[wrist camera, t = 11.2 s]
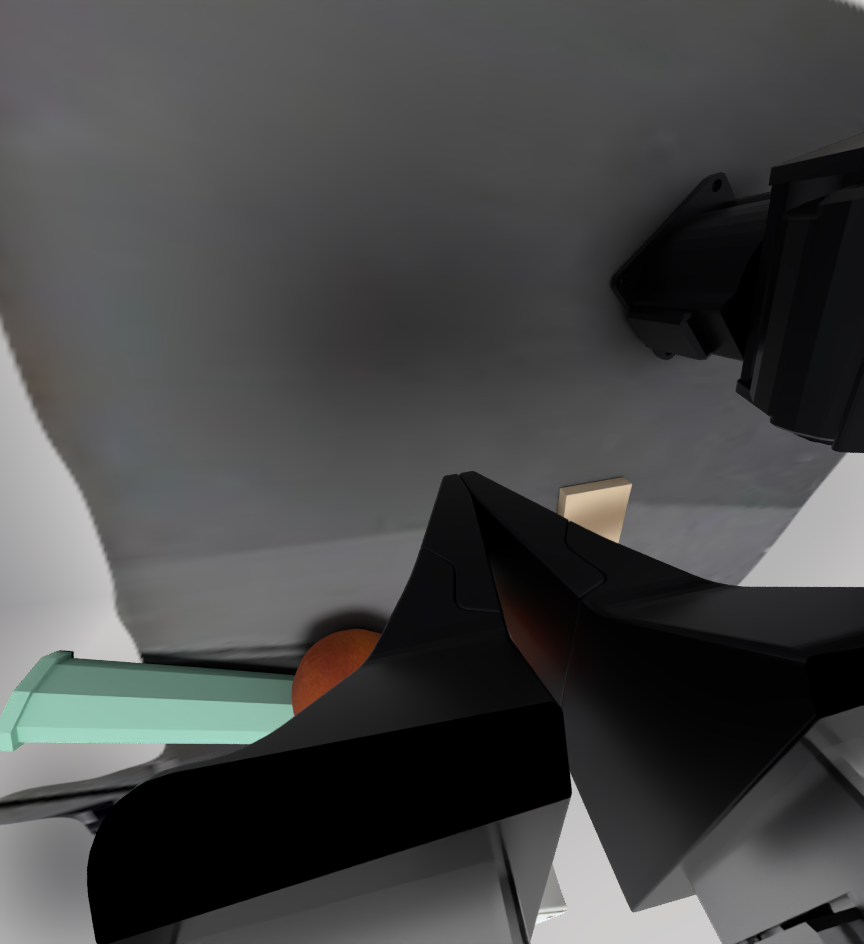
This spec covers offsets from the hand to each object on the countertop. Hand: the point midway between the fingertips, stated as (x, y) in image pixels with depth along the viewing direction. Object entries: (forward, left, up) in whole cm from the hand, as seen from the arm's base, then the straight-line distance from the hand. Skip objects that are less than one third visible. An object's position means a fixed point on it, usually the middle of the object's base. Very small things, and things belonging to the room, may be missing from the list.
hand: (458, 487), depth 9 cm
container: (+30, +5, -12) cm, 33 cm away
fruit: (+21, +11, -12) cm, 27 cm away
